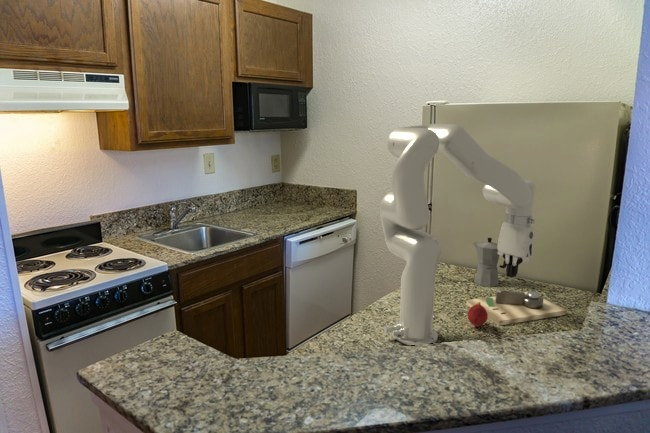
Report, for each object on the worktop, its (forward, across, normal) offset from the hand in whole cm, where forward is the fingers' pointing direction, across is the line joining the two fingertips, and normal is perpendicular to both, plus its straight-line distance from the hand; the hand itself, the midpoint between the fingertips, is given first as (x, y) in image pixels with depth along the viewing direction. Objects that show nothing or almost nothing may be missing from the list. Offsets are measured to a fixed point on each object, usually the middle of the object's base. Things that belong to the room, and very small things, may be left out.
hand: (511, 276), depth 148 cm
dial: (+11, 0, -7) cm, 13 cm away
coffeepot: (+13, +20, -21) cm, 31 cm away
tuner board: (+13, +1, -6) cm, 14 cm away
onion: (+14, +1, +15) cm, 21 cm away
